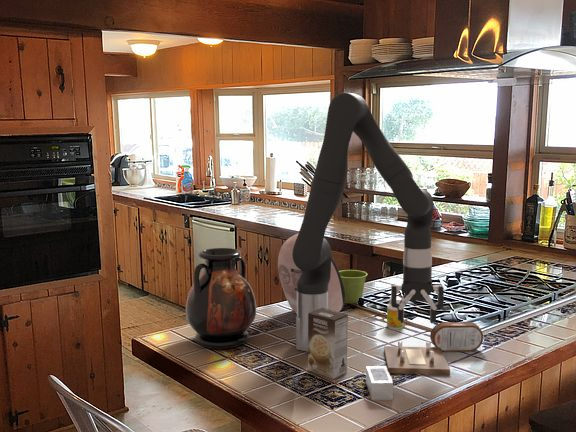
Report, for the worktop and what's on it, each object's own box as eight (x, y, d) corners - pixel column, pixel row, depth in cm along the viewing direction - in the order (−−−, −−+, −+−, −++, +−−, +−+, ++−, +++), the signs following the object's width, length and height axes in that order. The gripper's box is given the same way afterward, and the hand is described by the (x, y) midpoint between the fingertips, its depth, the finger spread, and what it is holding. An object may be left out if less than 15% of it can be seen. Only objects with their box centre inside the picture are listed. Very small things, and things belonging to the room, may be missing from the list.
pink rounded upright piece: (353, 319, 200) (354, 232, 196) (311, 331, 188) (310, 239, 184) (311, 305, 217) (310, 225, 213) (269, 316, 205) (268, 231, 201)
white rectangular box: (371, 401, 139) (372, 382, 139) (365, 383, 149) (366, 366, 149) (392, 400, 140) (393, 382, 139) (385, 382, 149) (385, 365, 149)
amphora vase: (227, 325, 196) (225, 242, 192) (271, 340, 180) (270, 251, 176) (172, 341, 181) (169, 251, 177) (215, 359, 165) (212, 262, 162)
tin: (480, 348, 172) (481, 320, 171) (484, 352, 169) (485, 324, 168) (429, 349, 172) (430, 321, 171) (432, 353, 169) (433, 325, 168)
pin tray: (388, 373, 155) (388, 356, 154) (384, 351, 171) (384, 336, 170) (450, 374, 153) (450, 358, 153) (440, 352, 169) (440, 337, 169)
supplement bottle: (383, 326, 193) (384, 297, 192) (396, 323, 196) (397, 295, 194) (393, 330, 188) (394, 301, 187) (407, 328, 191) (407, 299, 190)
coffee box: (306, 370, 157) (306, 312, 155) (321, 363, 162) (321, 307, 160) (333, 379, 151) (334, 319, 149) (348, 372, 156) (348, 313, 154)
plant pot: (328, 302, 220) (329, 273, 219) (350, 296, 228) (350, 268, 227) (352, 309, 212) (352, 279, 210) (373, 303, 219) (374, 273, 218)
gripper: (391, 266, 155) (391, 326, 157) (446, 266, 154) (445, 327, 156) (389, 260, 163) (389, 317, 165) (442, 260, 161) (441, 318, 163)
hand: (416, 322), depth 160 cm, fingers open, 7 cm apart
